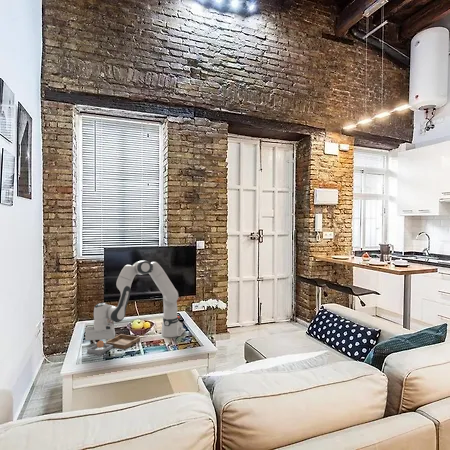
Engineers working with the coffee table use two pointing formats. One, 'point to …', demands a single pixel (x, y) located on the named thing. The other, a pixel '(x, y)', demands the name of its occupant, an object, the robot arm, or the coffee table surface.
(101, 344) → the ball
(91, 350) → the tray
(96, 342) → the coffee mug
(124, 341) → the brown wooden tray
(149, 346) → the coffee table surface
